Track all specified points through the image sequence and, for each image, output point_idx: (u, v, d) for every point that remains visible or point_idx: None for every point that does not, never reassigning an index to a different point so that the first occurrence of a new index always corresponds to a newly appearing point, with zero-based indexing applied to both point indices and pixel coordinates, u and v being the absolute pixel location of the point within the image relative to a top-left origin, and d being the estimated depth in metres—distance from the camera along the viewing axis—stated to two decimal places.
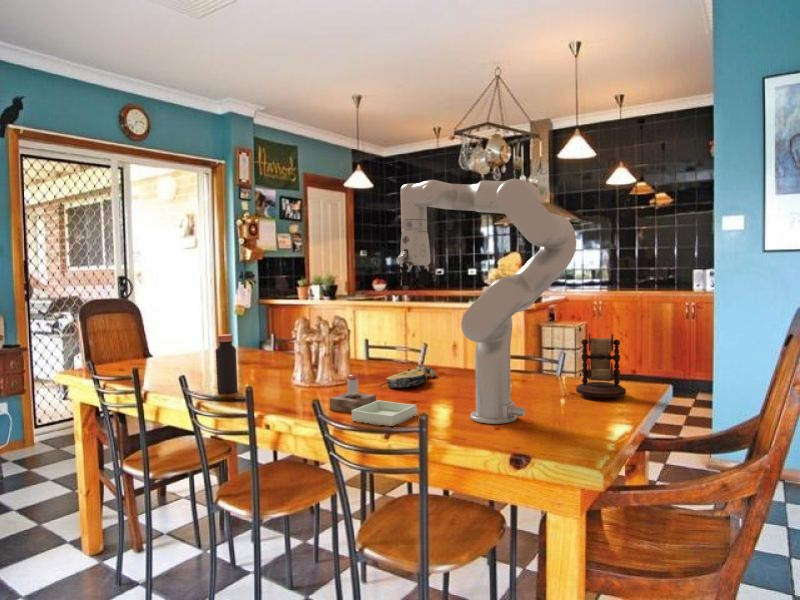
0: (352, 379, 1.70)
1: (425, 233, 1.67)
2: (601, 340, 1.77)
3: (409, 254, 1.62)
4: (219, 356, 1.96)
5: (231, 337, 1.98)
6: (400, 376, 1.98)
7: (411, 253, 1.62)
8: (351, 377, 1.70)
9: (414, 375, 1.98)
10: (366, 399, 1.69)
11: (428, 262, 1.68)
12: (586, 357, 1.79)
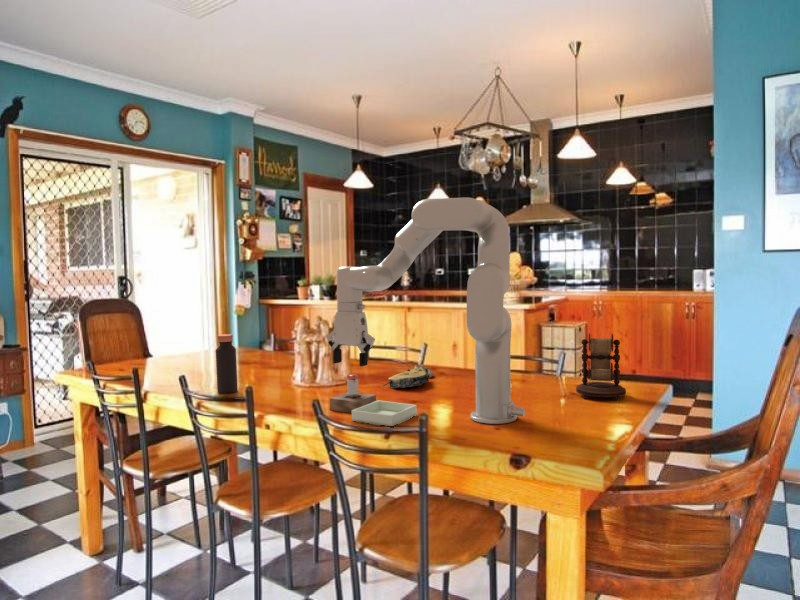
0: (352, 379, 1.70)
1: None
2: (601, 340, 1.77)
3: None
4: (219, 356, 1.96)
5: (231, 337, 1.98)
6: (403, 376, 1.98)
7: None
8: (351, 377, 1.70)
9: (417, 375, 1.98)
10: (366, 399, 1.69)
11: None
12: (586, 357, 1.79)
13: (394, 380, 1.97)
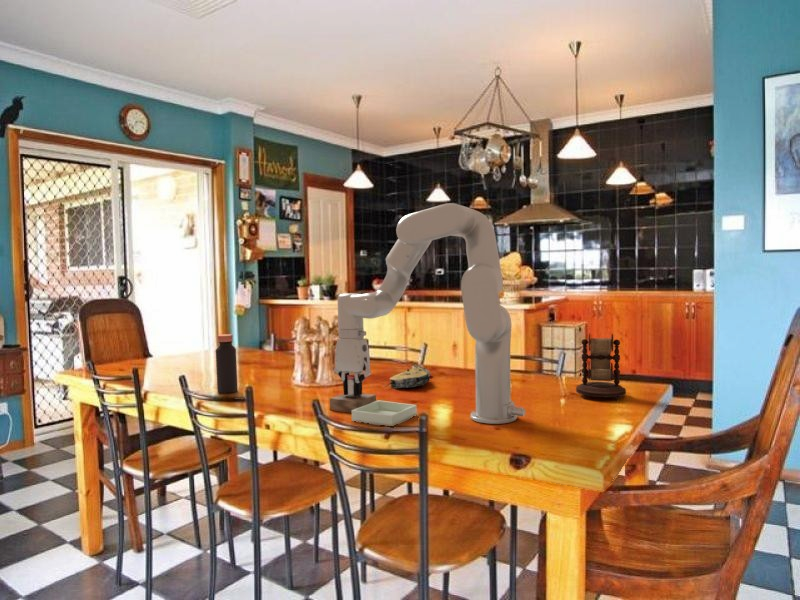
0: (352, 379, 1.70)
1: None
2: (601, 340, 1.77)
3: (368, 361, 1.70)
4: (219, 356, 1.96)
5: (231, 337, 1.98)
6: (405, 376, 1.98)
7: (368, 360, 1.70)
8: (351, 377, 1.70)
9: (419, 375, 1.98)
10: (366, 399, 1.69)
11: None
12: (586, 357, 1.79)
13: (397, 380, 1.96)
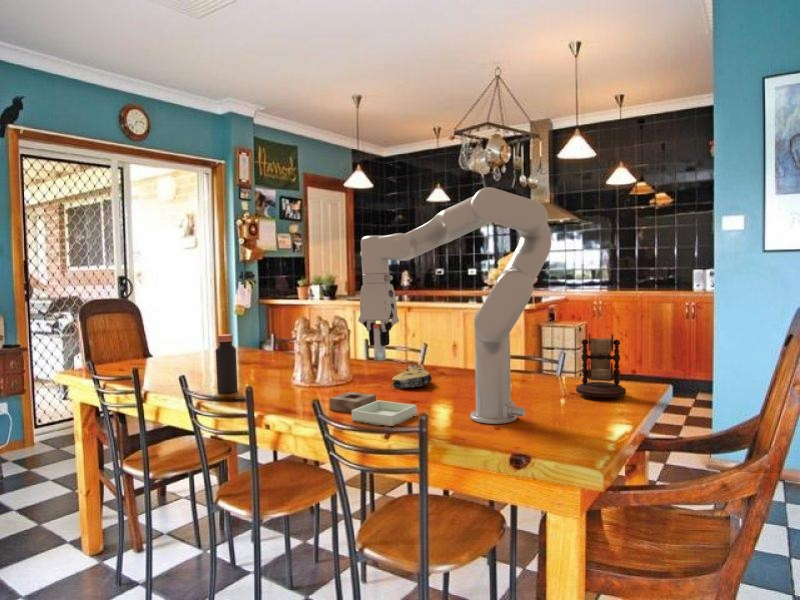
0: (379, 328, 1.58)
1: None
2: (601, 340, 1.77)
3: (395, 308, 1.58)
4: (219, 356, 1.96)
5: (231, 337, 1.98)
6: (410, 376, 1.98)
7: (396, 307, 1.59)
8: (377, 326, 1.58)
9: (423, 374, 1.99)
10: (366, 399, 1.69)
11: None
12: (586, 357, 1.79)
13: (402, 380, 1.96)
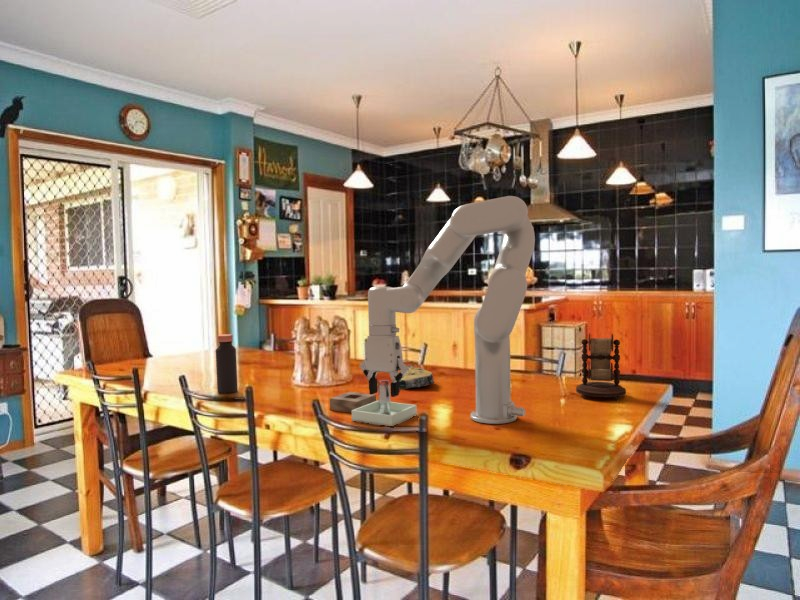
0: (384, 385, 1.58)
1: None
2: (601, 340, 1.77)
3: (401, 360, 1.57)
4: (219, 356, 1.96)
5: (231, 337, 1.98)
6: (414, 376, 1.98)
7: (401, 359, 1.58)
8: (383, 383, 1.58)
9: (427, 374, 2.00)
10: (366, 399, 1.69)
11: None
12: (586, 357, 1.79)
13: (408, 380, 1.96)
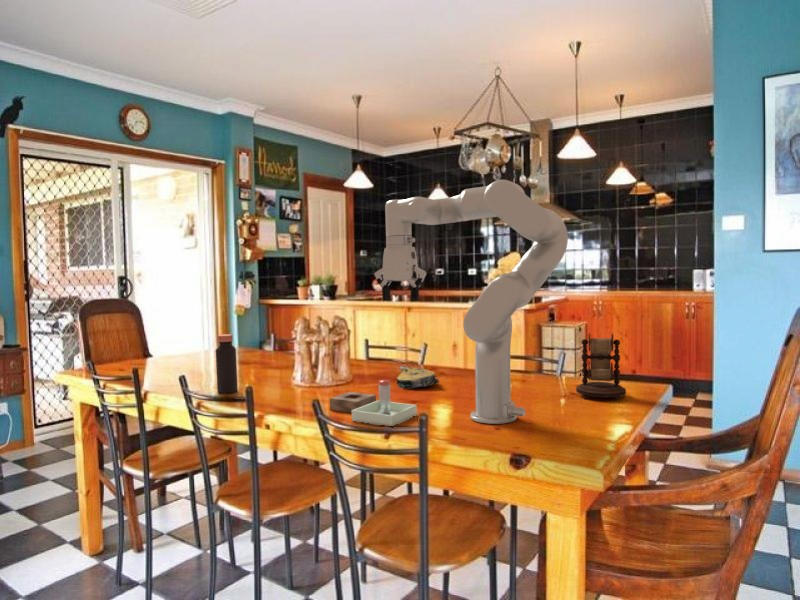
0: (385, 385, 1.57)
1: None
2: (601, 340, 1.77)
3: None
4: (219, 356, 1.96)
5: (231, 337, 1.98)
6: (419, 376, 1.98)
7: None
8: (383, 383, 1.57)
9: (430, 373, 2.01)
10: (366, 399, 1.69)
11: None
12: (586, 357, 1.79)
13: (414, 380, 1.96)
